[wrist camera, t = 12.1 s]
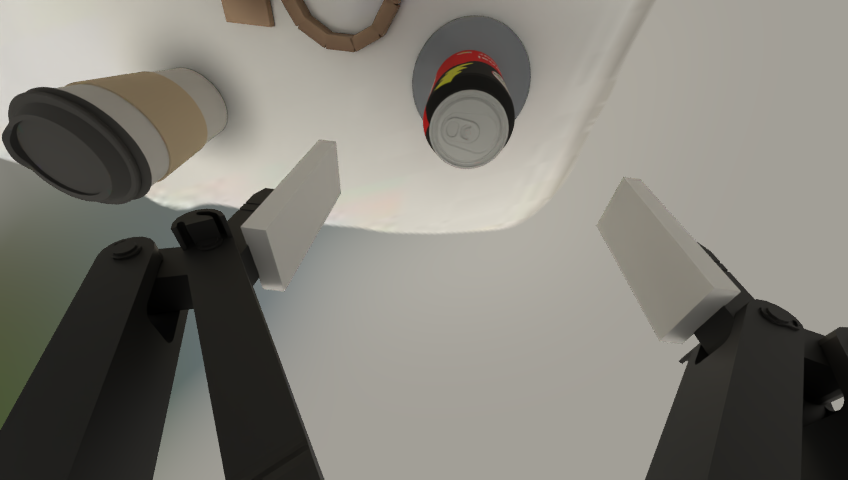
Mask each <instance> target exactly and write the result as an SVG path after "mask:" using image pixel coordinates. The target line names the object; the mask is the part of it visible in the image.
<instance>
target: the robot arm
mask: <svg viewBox="0 0 848 480" xmlns="http://www.w3.org/2000/svg"><path fill="white" fill-rule="evenodd" d="M340 194H341V189H340V179H339V169H338V159H337V148H336V142H335V141H326V140H319V141H318V142H317V143H316V144H315V145H314V146H313V147H312V148H311V149H310V151H309V152H308V153H307V154H306V155H305V156H304V157H303V158H302V159H301V160H300V162H299V163H298V164H297V165H296V166H295V167H294V168H293V169H292V170H291V172H290V173H289V174H288V175H287V176H286V177H285V178H284V179H283V180H282V181H281V183H280V184H279V185H278V186H277V187H276V188H275V189H269V188H265V189H263V190H261V191H259V192H257V193H255V194H254V195H253V196H252V197H251V198H250V199H249V200H248V201H247V202H246V204H244V205H243V206H242V207H241V208H240V210H238V211H237V212H236V213H235V214H234V215H233V216H232V217H231V218H230V219H229V220H228V221H227V220H226V218H225V216H224V215H223V213H222V212H221V211H218V210H215V209H201V210H195V211H192V212H188V213H186V214H184V215H182V216H180V217H178V218H177V219H176V220H175V221H174V222H173V223H172V226H171V230H172V232H173V233H174V235H175V237H176V239H177V241H178V242H179V244H180V246H181V247H176V248H165V249H158V247H157V246H156V244H155V242H153V240H151V239H150V238H146V237H132V238H127V239H122V240H120V241H118V242H115V243H113V244H111V245H109V246H108V247H106V248H104V249H103V250H102V251H101V252H100V253H99V254H98V256H97V257H96V259H95V261H94V263H93V265H92V266H91V268H90V270H89V272H88V274H87V275H86V277H85V279H84V281H83V283H82V284H81V286H80V288H79V290H78V292H77V293H76V295H75V297H74V299H73V300H72V302H71V304H70V306H69V308H68V310H67V311H66V313H65V315H64V317H63V319H62V320H61V322H60V324H59V326H58V328H57V329H56V331H55V333H54V335H53V336H52V338H51V340H50V342H49V344H48V345H47V347H46V349H45V351H44V353H43V354H42V356H41V358H40V360H39V362H38V364H37V365H36V367H35V369H34V371H33V373H32V374H31V376H30V378H29V380H28V381H27V383H26V385H25V387H24V389H23V390H22V392H21V394H20V396H19V398H18V399H17V401H16V403H15V405H14V407H13V409H12V410H11V412H10V414H9V416H8V418H7V419H6V421H5V423H4V425H3V427H2V428H1V430H0V480H153V475H154V470H155V466H156V461H157V456H158V452H159V447H160V442H161V437H162V432H163V427H164V423H165V418H166V413H167V409H168V404H169V399H170V394H171V390H172V385H173V381H174V376H175V371H176V366H177V362H178V357H179V352H180V347H181V343H182V338H183V333H184V329H185V323H186V319H187V314H188V310H189V309H194V312H195V317H196V323H197V329H198V334H199V339H200V345H201V349H202V355H203V361H204V366H205V372H206V377H207V382H208V388H209V393H210V399H211V404H212V409H213V414H214V420H215V425H216V431H217V436H218V442H219V447H220V452H221V458H222V463H223V469H224V474H225V479H226V480H324V478H323V475H322V472H321V469H320V467H319V464H318V461H317V458H316V456H315V453H314V450H313V448H312V445H311V442H310V440H309V437H308V434H307V431H306V429H305V426H304V423H303V421H302V418H301V415H300V413H299V410H298V407H297V404H296V402H295V399H294V396H293V393H292V391H291V388H290V385H289V383H288V380H287V377H286V375H285V372H284V369H283V366H282V364H281V361H280V358H279V356H278V353H277V350H276V347H275V345H274V342H273V340H272V337H271V334H270V331H269V329H268V326H267V323H266V321H265V318H264V315H263V312H262V310H261V307H260V304H259V301H258V299H257V296H256V294H255V291H254V288H253V285H254V284H255V283H256V281H257V280H258V278H259V279H260V281H261V284H262V287H263V289H269V290H277V291H285V290H286V288H287V286H288V285H289V283H290V281H291V279H292V278H293V276H294V274H295V272H296V271H297V269H298V267H299V265H300V264H301V262H302V260H303V258H304V257H305V255H306V253H307V252H308V249H309V248H310V246H311V244H312V243H313V241H314V239H315V238H316V236H317V234H318V232H319V231H320V229H321V227H322V225H323V224H324V222H325V220H326V218H327V217H328V215H329V213H330V211H331V210H332V208H333V206H334V204H335V203H336V201H337V199H338V198H339V196H340ZM597 228H598V229H599V231H600V233H601V235H602V237H603V239H604V240H605V242H606V244H607V246H608V248H609V250H610V251H611V253H612V255H613V257H614V259H615V261H616V262H617V264H618V266H619V268H620V270H621V271H622V273H623V275H624V277H625V279H626V280H627V283H628V284H629V286H630V288H631V290H632V292H633V293H634V295H635V297H636V299H637V301H638V303H639V304H640V306H641V308H642V310H643V312H644V313H645V315H646V317H647V319H648V321H649V323H650V325H651V326H652V328H653V330H654V332H655V334H656V335H657V337H658V339H659V341H663V342H670V343H678V344H683V343H684V342H685V341H686V340H687V339H688V338H689V337H690V336H692V335H693V334H695V336H696V337H697V339H698V340H699V342H700V343H699V344H698V345H697V346H696V347H695V348H693V349H692V350H691V351H690V352H689V353H687V354H686V355H685V356H684V357H683V358H682V359H681V360H680V361H679V362H680V363H682V364H683V363H684V362H685V361H688V364H687V366H686V369H685V372H684V375H683V378H682V380H681V383H680V386H679V388H678V391H677V394H676V397H675V399H674V402H673V405H672V407H671V411H670V413H669V416H668V418H667V421H666V424H665V427H664V429H663V432H662V435H661V438H660V440H659V443H658V446H657V449H656V451H655V454H654V457H653V459H652V462H651V465H650V468H649V470H648V473H647V476H646V479H645V480H848V327H839V328H837V329H836V330H834V331H833V332H831V333H829V334H828V335H826V336H824V335H821V334H818V333H815V332H812V331H809V330H806V329H804V328H803V326H802V324H801V323H800V322H799V321H798V320H797V319H796V318H795V317H794V316H793V315H791V314H790V313H789V312H788V311H786V310H784V309H782V308H781V307H779V306H777V305H775V304H772V303H770V302H767V301H763V300H758V299H756V300H755V299H754V298H753V297H752V296H751V295H750V294H749V293H748V292H747V291H746V289H745V288H744V287H743V286H742V285H741V284H740V283H739V282H738V281H737V280H736V279H735V277H734V276H733V275H732V274H731V273H730V272H727V269H726V268H725V267H724V266H723V264H721V263H720V261H719V260H718V259H717V258H716V257H715V256H714V255H713V254H712V252H711V251H709V250H708V249H706V248H705V247H704V246H702V245H701V244H699V243H698V242H696V241H695V240H694V238H693V237H692V236H691V235H690V234H689V233H688V232H687V231H686V230H685V228H683V226H682V225H681V224H680V223H679V222H678V221H677V220H676V218H675V217H674V216H673V215H672V214H671V213H670V212H669V211H668V210H667V209H666V207H665V206H664V205H663V204H662V203H661V202H660V201H659V199H658V198H657V197H656V196H655V195H654V194H653V193H652V192H651V191H650V189H649V188H648V187H647V186H646V185H645V184H644V183H643V182H642V180H640V179H635V178H626V177H623V179H622V181H621V182H620V184H619V186H618V188H617V189H616V191H615V193H614V195H613V197H612V198H611V200H610V202H609V204H608V206H607V207H606V209H605V211H604V213H603V215H602V216H601V218H600V220H599V222H598V224H597ZM843 396H844V404H843V407H842V408H841V409H840V410H838V411H834V409H833V407H832V404H831V402H832V401H835V400H837V399H839V398H841V397H843Z"/></svg>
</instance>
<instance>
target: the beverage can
mask: <svg viewBox="0 0 848 480" xmlns="http://www.w3.org/2000/svg"><path fill="white" fill-rule="evenodd" d="M514 122H515V111H514V105H513V102H512V99H511V97H510V94H509V92H508V89H507V87H506V84H505V82H504V79H503V77H502V75H501V72H500V70H499V68H498V66H497V64H496V63H495V62H494V60H493V59H492V58H490V57H489V56H488V55H486V54H484V53H482V52H480V51H475V50H465V51H461V52H458V53H455V54H453V55H452V56H450V57H449V58H448V59H446V60H445V61H444V62H443V64H442V65H441V66H440V68H439V70H438V71H437V74H436V76H435V79H434V82H433V85H432V88H431V91H430V94H429V97H428V100H427V104H426V107H425V110H424V115H423V127H424V132H425V136H426V139H427V141H428V143H429V145H430V146H431V148H432V149H433V150H434V152H435V153H436V154H437V155H438V156H439V157H440V158H441V159H442V160H443V161H444V162H446V163H447V164H449V165H451V166H454V167H457V168H463V169H471V168H477V167H480V166H483V165H485V164H487V163H489V162H490V161H492V160H493V159H494V158H495V157H496V156H497V155H498V154H499V153H500V152H501V150H502V149H503V148H504V146H505V145H506V144H507V142H508V140H509V138H510V136H511V134H512V131H513V127H514Z"/></svg>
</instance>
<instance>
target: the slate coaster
mask: <svg viewBox="0 0 848 480" xmlns="http://www.w3.org/2000/svg"><path fill="white" fill-rule="evenodd" d="M465 50H475V51H480V52H482V53H484V54H486V55H488V56H489V57H490V58H492V59H493V60H494V62H495V63H496V64H497V66H498V68H499V70H500V72H501V75H502V77H503V79H504V82H505V84H506V87H507V89H508V92H509V94H510V97H511V99H512V102H513V105H514V111H515V119H516V118H517V116H518V115H519V113H520V112H521V110H522V108H523V106H524V104H525V102H526V99H527V96H528V92H529V87H530V78H531V76H530V64H529V59H528V56H527V53H526V50H525V48H524V46H523V44H522V42H521V41H520V39H519V38H518V37H517V35H516V34H515V33H514V32H513V31H512V30H511V29H510V28H508V27H507V26H506V25H505V24H503V23H501V22H499V21H498V20H495V19H492V18H489V17H484V16H466V17H462V18H458V19H455V20H453V21H451V22H449V23H447V24H445V25H444V26H442V27H441V28H440V29H438V30H437V31H436V32H435V33H434V34H433V35H432V36H431V37H430V38H429V39H428V41H427V42H426V44H425V45H424V47H423V48H422V50H421V52H420V54H419V56H418V58H417V61H416V64H415V68H414V72H413V80H412V89H413V97H414V101H415V105H416V107H417V110H418V112H419V114H420V116H421V118H422V119H423V115H424V110H425V107H426V104H427V100H428V97H429V94H430V91H431V88H432V85H433V82H434V79H435V76H436V74H437V71H438V70H439V68H440V66H441V65H442V64H443V62H444V61H445V60H446V59H448V58H449V57H450V56H452V55H453V54H455V53H458V52H461V51H465Z"/></svg>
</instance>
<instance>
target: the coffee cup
mask: <svg viewBox="0 0 848 480" xmlns="http://www.w3.org/2000/svg"><path fill="white" fill-rule="evenodd" d="M8 117H9V124H8V125H7V127H6V128H5V130H4V132H3V134H2V141H3V143H4V145H5V147H6V149H7V151H8V152H9V154H10V155H11V157H12V158H13V159H14V160H15V161H17V162H18V163H20V164H21V165H23V166H25V167H27V168H29V169H31V170H33V171H34V172H35V173H36V174H37V175H38V176H39V177H41V178H42V179H43V180H44V181H46V182H47V183H49V184H50V185H52V186H53V187H55V188H56V189H58V190H60V191H62V192H64V193H66V194H68V195H70V196H72V197H75V198H78V199H81V200H85V201H94V202H95V201H96V202H100V203H106V204H123V203H127V202H129V201H131V200H134V199H138V198H141V197H143V196H144V195H146V194H147V193H148V191H149V190H150V187H151V186H152V185H153V184H155V183H156V182H159V181H161V180H163V179H165V178H166V177H167V176H168V175H170V174H171V173H172V172H173V171H174V170H176V169H177V168H178V167H179V166H181V165H182V164H183V163H184V162H186V161H187V160H188V159H189V158H190V157H192V156H193V155H194V154H195V153H197V152H198V151H199V150H200V149H202V148H203V146H204V145H205V143H207V142H208V141H209V140H211V139H212V138H213V137H214V136H216V135H217V134H218V133H219V132H221V131H222V130H223V129H224V128H225V126H226V123H227V109H226V106H225V103H224V101H223V98H222V97H221V95H220V93H219V92H218V90H217V89H216V88H215V87H214V86H213V85H212V83H211V82H209V81H208V80H207V79H206V78H205V77H203V76H202V75H200V74H199V73H197V72H195V71H193V70H190V69H186V68H174V69H168V70H162V71H156V72H137V73H131V74H125V75H118V76H112V77H105V78H99V79H92V80H86V81H80V82H74V83H70V84H68V85H66V86H65V87H59V88H49V87H38V88H33V89H30V90H28V91H27V92H25V93H22V94H19V95H17V96H16V97H14V98H13V99H12V101H11V103H10V105H9V110H8Z"/></svg>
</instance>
